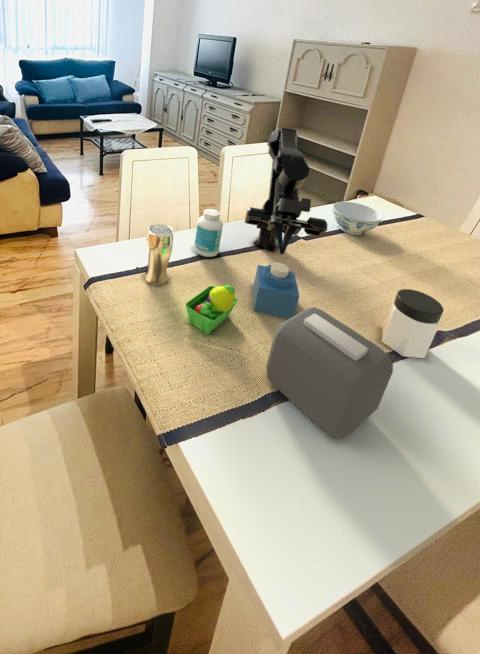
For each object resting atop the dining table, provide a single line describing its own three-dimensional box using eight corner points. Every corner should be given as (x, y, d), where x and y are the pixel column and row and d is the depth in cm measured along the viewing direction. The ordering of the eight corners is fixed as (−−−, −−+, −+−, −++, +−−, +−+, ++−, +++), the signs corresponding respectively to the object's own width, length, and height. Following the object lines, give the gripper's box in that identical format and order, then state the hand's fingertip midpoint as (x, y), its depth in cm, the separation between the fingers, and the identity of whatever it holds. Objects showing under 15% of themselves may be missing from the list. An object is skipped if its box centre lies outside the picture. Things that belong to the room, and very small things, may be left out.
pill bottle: (218, 260, 114) (225, 219, 109) (193, 256, 116) (199, 216, 111) (217, 247, 121) (224, 208, 116) (193, 243, 122) (199, 205, 117)
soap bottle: (253, 286, 103) (259, 258, 100) (288, 294, 101) (296, 265, 98) (253, 310, 94) (260, 280, 91) (293, 319, 92) (301, 289, 89)
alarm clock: (372, 420, 69) (400, 354, 63) (337, 453, 63) (364, 383, 57) (292, 356, 82) (309, 296, 76) (257, 379, 76) (272, 316, 70)
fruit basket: (208, 300, 97) (215, 262, 93) (240, 319, 91) (248, 280, 87) (181, 322, 89) (186, 282, 85) (214, 344, 84) (221, 302, 79)
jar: (434, 352, 84) (454, 309, 80) (413, 365, 81) (432, 319, 77) (392, 325, 92) (409, 284, 87) (371, 335, 88) (387, 292, 84)
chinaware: (385, 242, 129) (392, 222, 126) (341, 240, 129) (347, 219, 126) (360, 221, 143) (365, 202, 140) (319, 219, 143) (325, 200, 140)
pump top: (269, 267, 97) (271, 261, 96) (286, 271, 96) (288, 264, 95) (270, 277, 93) (272, 269, 92) (288, 280, 92) (289, 273, 91)
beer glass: (172, 275, 106) (177, 227, 101) (163, 289, 100) (169, 239, 95) (148, 268, 109) (152, 221, 103) (139, 281, 103) (143, 232, 97)
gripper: (253, 178, 96) (246, 237, 90) (335, 190, 91) (333, 253, 85) (248, 195, 106) (241, 249, 100) (321, 206, 101) (319, 264, 95)
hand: (281, 254), depth 95 cm, fingers closed
